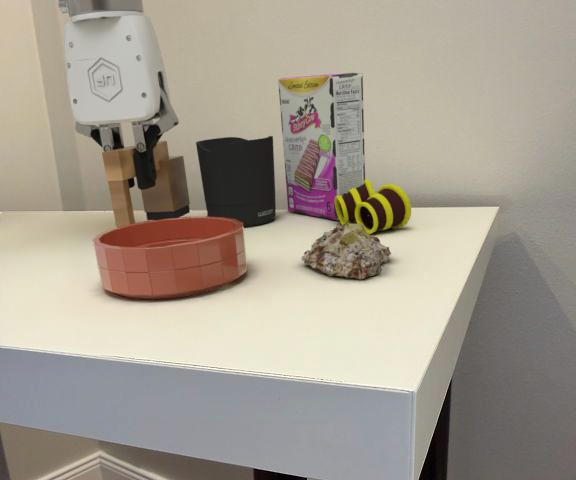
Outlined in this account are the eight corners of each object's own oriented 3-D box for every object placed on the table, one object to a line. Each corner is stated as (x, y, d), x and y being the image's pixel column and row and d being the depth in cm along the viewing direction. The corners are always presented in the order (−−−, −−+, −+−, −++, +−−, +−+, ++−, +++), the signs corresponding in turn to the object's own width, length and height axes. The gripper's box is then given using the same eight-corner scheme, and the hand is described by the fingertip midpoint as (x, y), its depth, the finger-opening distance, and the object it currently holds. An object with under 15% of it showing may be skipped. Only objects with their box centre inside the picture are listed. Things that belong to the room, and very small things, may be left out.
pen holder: (211, 232, 79) (200, 145, 75) (202, 219, 88) (192, 140, 83) (286, 223, 81) (280, 137, 77) (270, 211, 89) (264, 133, 85)
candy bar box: (285, 212, 88) (275, 78, 81) (315, 206, 90) (308, 75, 84) (336, 222, 79) (330, 72, 73) (368, 215, 82) (365, 70, 75)
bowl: (73, 301, 56) (62, 249, 54) (144, 262, 68) (137, 217, 66) (216, 303, 52) (209, 247, 51) (266, 261, 64) (262, 215, 62)
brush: (140, 235, 73) (126, 150, 69) (109, 236, 74) (93, 152, 70) (191, 212, 85) (181, 138, 81) (163, 213, 86) (152, 140, 83)
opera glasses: (335, 230, 79) (326, 189, 77) (373, 215, 80) (365, 175, 78) (374, 244, 71) (365, 199, 68) (415, 228, 72) (408, 183, 70)
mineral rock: (290, 233, 64) (368, 203, 63) (305, 274, 66) (380, 245, 65) (305, 263, 54) (396, 228, 54) (321, 309, 56) (410, 276, 56)
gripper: (18, 11, 67) (58, 196, 75) (159, -8, 63) (186, 191, 70) (60, 16, 73) (93, 186, 81) (190, -1, 69) (212, 180, 77)
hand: (136, 187), depth 76 cm, fingers closed on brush, 2 cm apart
